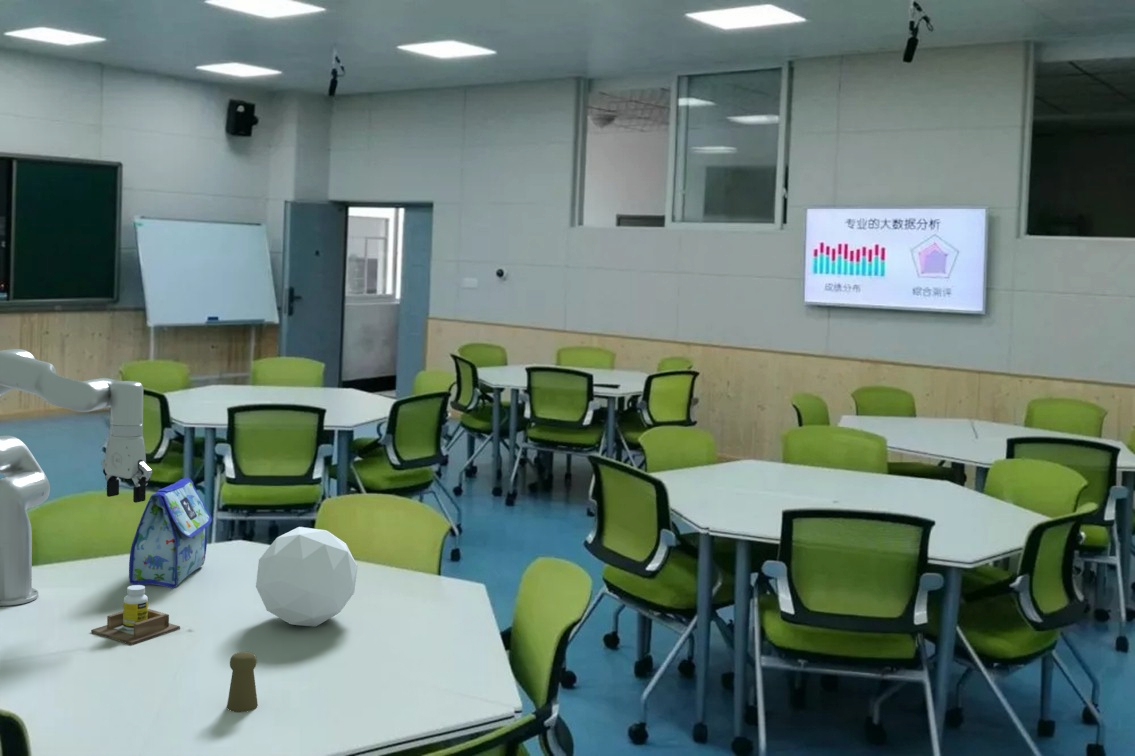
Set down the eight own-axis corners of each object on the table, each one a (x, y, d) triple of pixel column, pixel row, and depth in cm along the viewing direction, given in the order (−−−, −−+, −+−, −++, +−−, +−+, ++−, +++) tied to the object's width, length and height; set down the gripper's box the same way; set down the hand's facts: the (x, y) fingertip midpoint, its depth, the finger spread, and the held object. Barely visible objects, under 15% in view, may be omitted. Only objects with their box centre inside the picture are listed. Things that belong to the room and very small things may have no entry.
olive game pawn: (230, 700, 225) (231, 648, 224) (260, 700, 225) (261, 648, 224) (223, 712, 219) (224, 658, 218) (254, 712, 219) (255, 659, 218)
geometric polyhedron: (305, 645, 282) (335, 555, 294) (357, 637, 264) (387, 542, 277) (224, 611, 269) (259, 519, 282) (273, 600, 252) (309, 502, 264)
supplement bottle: (139, 632, 259) (139, 591, 258) (118, 629, 260) (118, 589, 259) (152, 624, 264) (152, 585, 263) (131, 622, 265) (132, 582, 264)
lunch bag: (186, 589, 295) (188, 494, 292) (124, 586, 295) (125, 491, 292) (214, 566, 317) (215, 478, 314) (157, 563, 317) (158, 474, 314)
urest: (91, 632, 259) (91, 617, 259) (140, 617, 271) (140, 602, 271) (131, 644, 252) (131, 629, 252) (179, 628, 265) (180, 614, 264)
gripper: (90, 428, 273) (90, 496, 275) (138, 437, 265) (137, 506, 266) (115, 425, 279) (115, 491, 281) (163, 433, 271) (162, 501, 273)
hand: (126, 498), depth 274 cm, fingers open, 9 cm apart
